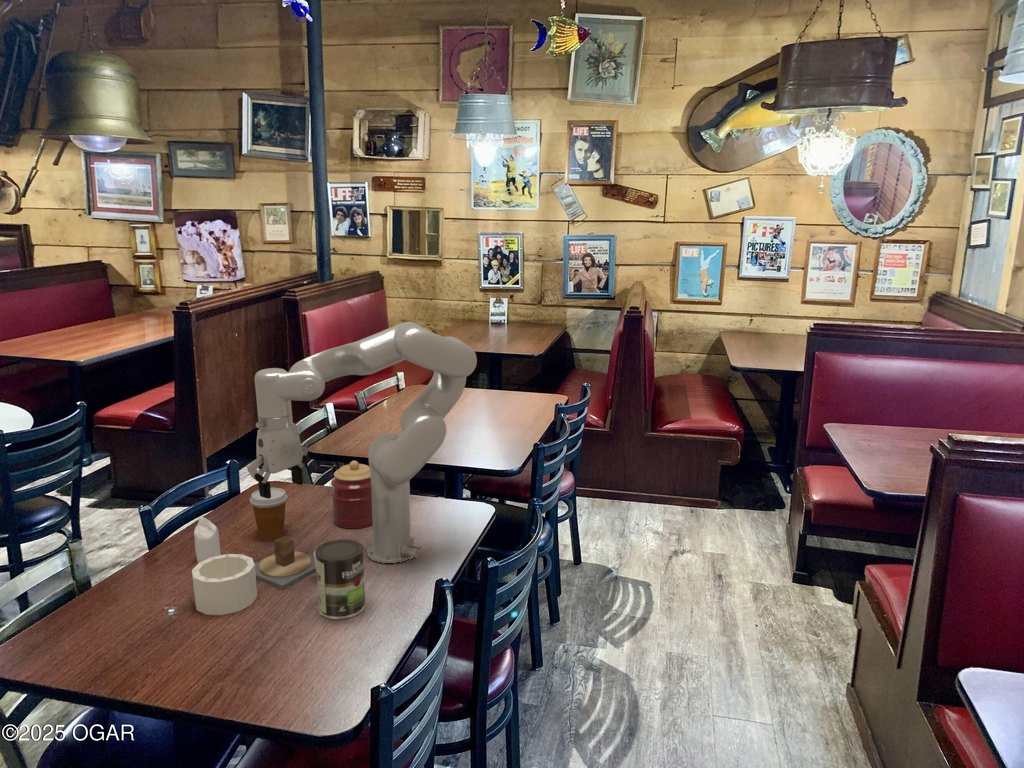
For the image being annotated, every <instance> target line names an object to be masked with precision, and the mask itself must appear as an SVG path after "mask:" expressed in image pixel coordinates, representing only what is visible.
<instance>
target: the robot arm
mask: <svg viewBox="0 0 1024 768" xmlns="http://www.w3.org/2000/svg"><path fill="white" fill-rule="evenodd" d="M405 360H406V361H408V362H409V363H412V364H414V365H417V366H419V367H421V368H424V369H427V370H430V371H433V375H432V378H431V379H430V381H429V382H428V383H427V385H426V386H425V387H424V389H422V391H421V392H420V393H419V394H418V396H416V398H414V400H412V401H411V403H410V404H409V405H408V406H407V407H406V408H405V410H403V412H402V414H401V416H400V418H399V426H400V429H401V431H402V432H401V434H400V435H397V434H396V433H391V432H385V433H381V434H379V435H378V436H376V437H375V438H374V439H373V440H372V441H371V444H370V445H369V449H368V466H369V467H370V476H371V493H372V523H373V524H372V542H373V543H371V544H370V545H369V546H368V547H367V550H366V553H367V554H366V555H367V557H368V558H369V559H370V560H371V561H373V560H374V561H373V562H375V561H377V562H376V563H378V562H382V563H381V564H384V563H394V562H400V563H402V562H401V561H404V560H406V559H409V558H411V557H412V556H413V557H412V558H418V557H419V556H420V551H422V546H421V545H418V544H416V543H415V537H414V536H412V535H411V534H412V533H411V497H410V496H411V493H410V492H411V487H410V481H411V479H412V478H414V477H415V476H416V475H417V474H418V473H419V472H420V470H421V469H422V468H423V467H424V466H425V465H426V463H428V461H429V460H430V459H431V458H432V457H433V456H434V455H435V454H436V453H437V451H438V450H439V449H440V448H441V446H442V445H443V443H444V441H445V439H446V435H447V424H446V422H445V420H444V419H445V418H446V417H447V415H448V414H449V413H450V412H451V410H452V409H453V408H454V407H455V405H456V404H457V402H458V401H459V400H460V398H461V397H462V395H463V393H464V390H465V386H466V383H467V377H469V376H470V375H471V374H472V373H473V372H474V371H475V370H476V367H477V362H478V359H477V354H476V352H475V350H473V348H472V347H471V346H469V345H468V344H466V342H465V343H464V342H463V341H462V340H461V339H459V338H457V337H454V336H451V335H450V336H442V335H439V334H437V333H435V332H432V331H431V330H428V329H426V328H425V327H423V326H421V325H420V324H418V323H416V322H414V321H404V322H402V323H398V324H396V325H394V326H391V327H388V328H386V329H383V330H381V331H379V332H376V333H375V334H372V335H369V336H367V337H363V338H362V339H359V340H357V341H354V342H349V343H346V344H343V345H339V346H336V347H332V348H329V349H325V350H323V351H319V352H317V353H315V354H313V355H311V356H308V357H306V358H303V359H301V360H299V361H296V362H295V363H294V364H293V365H292V366H291V367H290V369H289V370H288V371H287V370H285V369H284V368H281V367H280V368H279V367H271V368H269V367H268V368H264V369H263V368H262V369H261V370H258V371H257V372H256V373H255V376H254V387H255V396H256V397H255V398H256V408H257V418H258V421H257V422H256V423H255V427H256V428H257V429H258V430H257V435H256V449H255V450H256V459H254V460H253V461H252V463H250V465H249V466H248V467H247V469H246V471H247V472H248V473H249V475H250V476H251V478H252V479H253V480H255V482H258V490H259V493H260V496H261V497H264V498H267V499H269V498H271V489H270V488H271V483H270V481H269V480H270V479H269V478H270V477H271V475H273V474H277V473H280V472H282V471H286V470H288V469H290V473H291V483H292V484H295V485H299V486H303V484H304V479H303V468H304V467H305V462H306V461H307V458H308V456H307V455H308V453H309V450H310V449H309V447H307V446H305V445H301V443H302V442H301V438H300V435H299V430H298V427H297V425H296V423H295V422H293V411H292V409H293V408H292V401H299V402H300V401H302V402H309V401H314V400H317V399H318V398H320V397H321V396H322V395H323V393H324V391H325V388H326V387H325V385H326V382H330V381H332V380H334V379H338V378H341V377H345V376H351V375H352V376H353V375H354V376H369V375H373V374H375V373H377V372H379V371H383V370H384V369H387V368H389V367H392V366H393V365H395V364H398V363H401V362H404V361H405ZM412 558H411V559H412ZM409 560H410V559H409ZM404 562H405V561H404ZM394 564H395V563H394Z"/></svg>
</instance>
